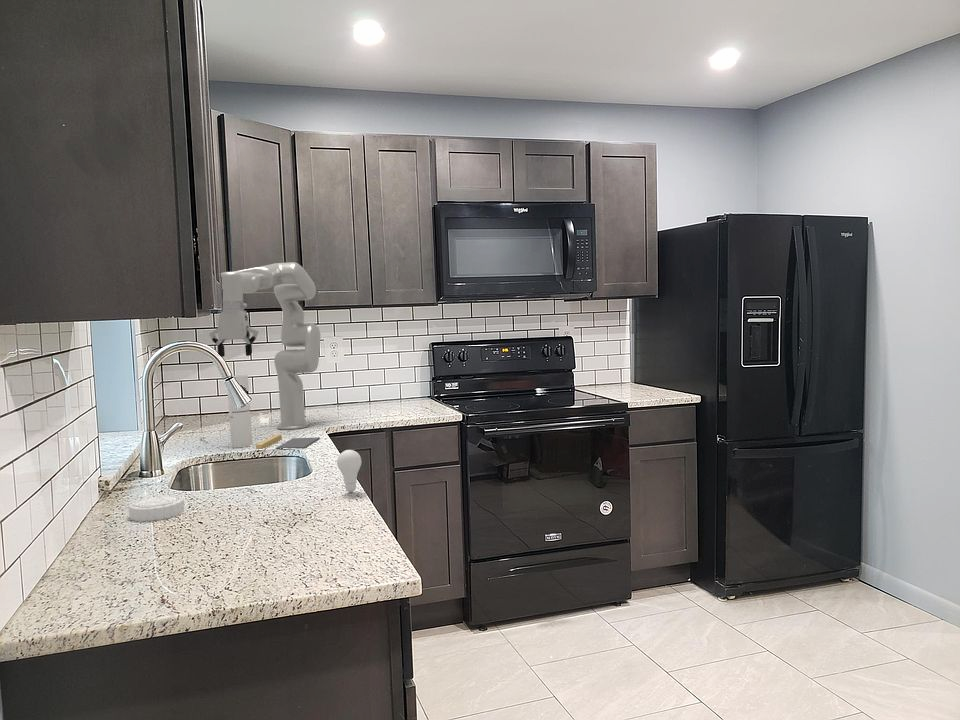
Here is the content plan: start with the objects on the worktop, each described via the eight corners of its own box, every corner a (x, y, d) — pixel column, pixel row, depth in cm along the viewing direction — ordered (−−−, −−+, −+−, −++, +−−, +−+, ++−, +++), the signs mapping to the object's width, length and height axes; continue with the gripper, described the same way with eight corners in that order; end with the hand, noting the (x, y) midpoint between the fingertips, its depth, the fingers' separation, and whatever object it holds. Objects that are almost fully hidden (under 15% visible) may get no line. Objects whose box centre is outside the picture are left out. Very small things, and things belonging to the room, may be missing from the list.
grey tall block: (246, 447, 255) (241, 376, 253) (227, 447, 256) (222, 377, 254) (256, 443, 262) (251, 374, 260) (238, 444, 263) (233, 375, 261)
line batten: (276, 439, 268) (276, 434, 268) (281, 439, 268) (281, 434, 268) (256, 450, 248) (255, 445, 248) (261, 450, 248) (261, 444, 248)
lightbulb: (335, 495, 183) (332, 452, 182) (343, 489, 189) (340, 447, 188) (359, 495, 182) (356, 452, 181) (366, 489, 188) (363, 447, 187)
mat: (293, 439, 267) (292, 438, 267) (319, 439, 266) (319, 437, 266) (275, 449, 249) (275, 447, 249) (304, 448, 248) (304, 447, 248)
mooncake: (121, 516, 173) (120, 501, 173) (171, 505, 182) (170, 491, 181) (141, 525, 165) (140, 509, 164) (193, 513, 173) (192, 498, 173)
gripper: (260, 306, 258) (263, 354, 259) (213, 308, 260) (216, 356, 261) (252, 306, 251) (255, 355, 252) (203, 308, 252) (206, 357, 253)
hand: (235, 356), depth 256 cm, fingers open, 9 cm apart
